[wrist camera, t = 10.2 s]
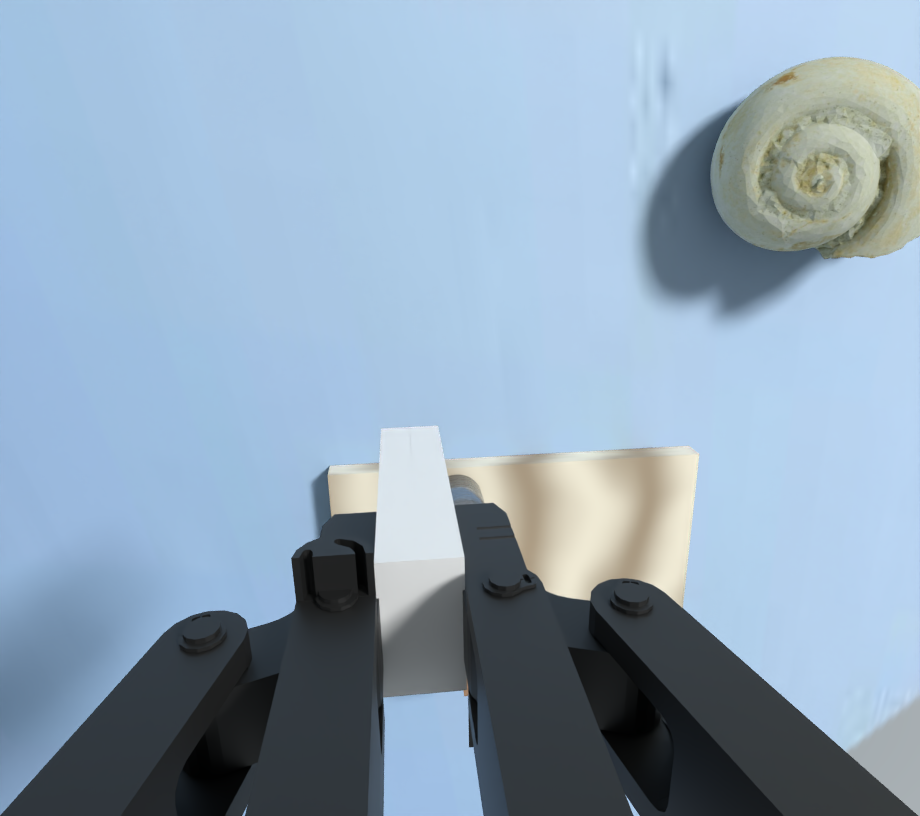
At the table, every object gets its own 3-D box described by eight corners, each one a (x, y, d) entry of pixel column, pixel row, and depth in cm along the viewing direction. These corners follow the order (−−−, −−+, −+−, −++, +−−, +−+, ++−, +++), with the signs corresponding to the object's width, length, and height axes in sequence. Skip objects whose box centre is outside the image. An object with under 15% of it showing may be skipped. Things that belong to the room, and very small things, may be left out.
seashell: (741, 250, 31) (831, 22, 27) (667, 221, 38) (731, 36, 34) (940, 292, 34) (1048, 92, 30) (839, 258, 41) (915, 92, 37)
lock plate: (346, 647, 45) (344, 661, 43) (329, 465, 40) (327, 475, 39) (671, 620, 47) (679, 633, 45) (688, 445, 43) (699, 454, 41)
